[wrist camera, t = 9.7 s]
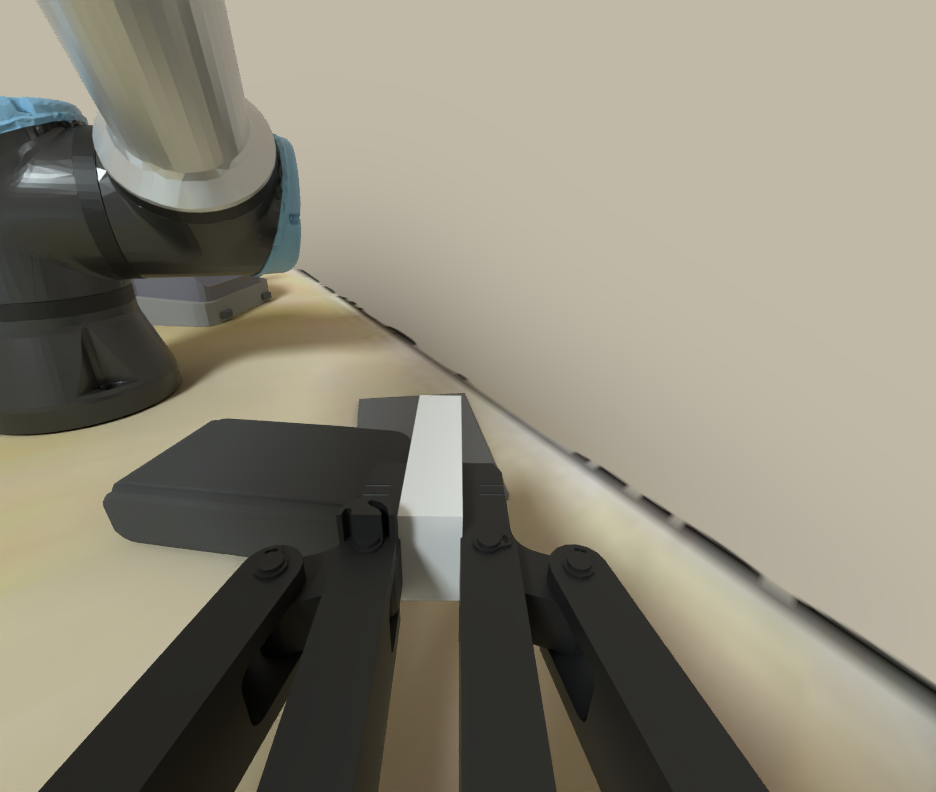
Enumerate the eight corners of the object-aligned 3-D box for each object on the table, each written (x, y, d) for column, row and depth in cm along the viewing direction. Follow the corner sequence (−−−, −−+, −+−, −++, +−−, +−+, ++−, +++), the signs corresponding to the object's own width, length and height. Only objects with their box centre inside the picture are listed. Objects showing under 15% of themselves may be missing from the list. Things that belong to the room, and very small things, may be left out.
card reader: (421, 476, 30) (228, 460, 33) (415, 424, 29) (214, 411, 32) (367, 582, 22) (118, 547, 25) (355, 517, 20) (91, 488, 23)
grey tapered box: (189, 292, 82) (168, 203, 76) (290, 300, 78) (277, 208, 72) (75, 321, 64) (34, 208, 57) (200, 334, 60) (171, 214, 53)
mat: (359, 402, 42) (359, 399, 42) (464, 396, 44) (464, 393, 43) (352, 515, 28) (351, 510, 27) (508, 499, 29) (508, 494, 29)
